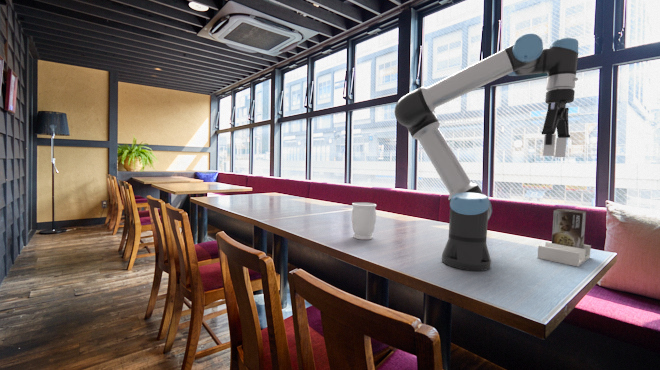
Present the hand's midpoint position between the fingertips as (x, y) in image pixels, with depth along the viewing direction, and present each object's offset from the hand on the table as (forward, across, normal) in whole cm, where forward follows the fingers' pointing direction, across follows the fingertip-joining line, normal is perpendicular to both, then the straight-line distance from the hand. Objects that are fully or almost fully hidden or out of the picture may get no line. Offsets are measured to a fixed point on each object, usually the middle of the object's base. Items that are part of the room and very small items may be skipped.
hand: (554, 156), depth 105 cm
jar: (+37, -21, +63) cm, 76 cm away
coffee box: (+36, +22, -2) cm, 42 cm away
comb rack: (+36, +18, -2) cm, 41 cm away
